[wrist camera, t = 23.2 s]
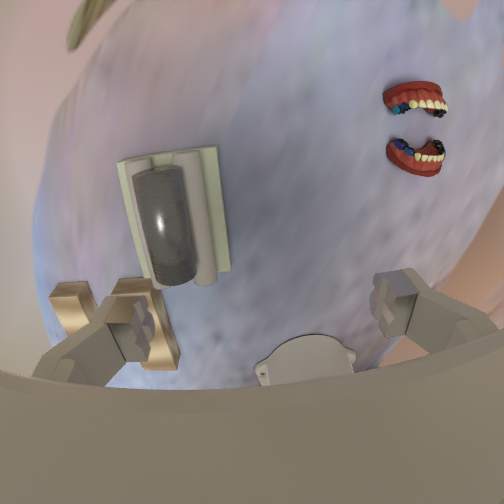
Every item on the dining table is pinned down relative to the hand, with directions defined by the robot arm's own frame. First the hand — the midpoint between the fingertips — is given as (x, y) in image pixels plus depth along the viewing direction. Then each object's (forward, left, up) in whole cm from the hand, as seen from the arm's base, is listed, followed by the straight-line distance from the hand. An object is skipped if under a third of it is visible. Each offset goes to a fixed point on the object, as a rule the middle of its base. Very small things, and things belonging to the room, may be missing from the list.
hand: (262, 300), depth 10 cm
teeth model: (+4, -22, -28) cm, 36 cm away
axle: (-5, +9, -23) cm, 25 cm away
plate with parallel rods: (-6, +9, -27) cm, 29 cm away
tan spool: (-23, +23, -27) cm, 42 cm away
